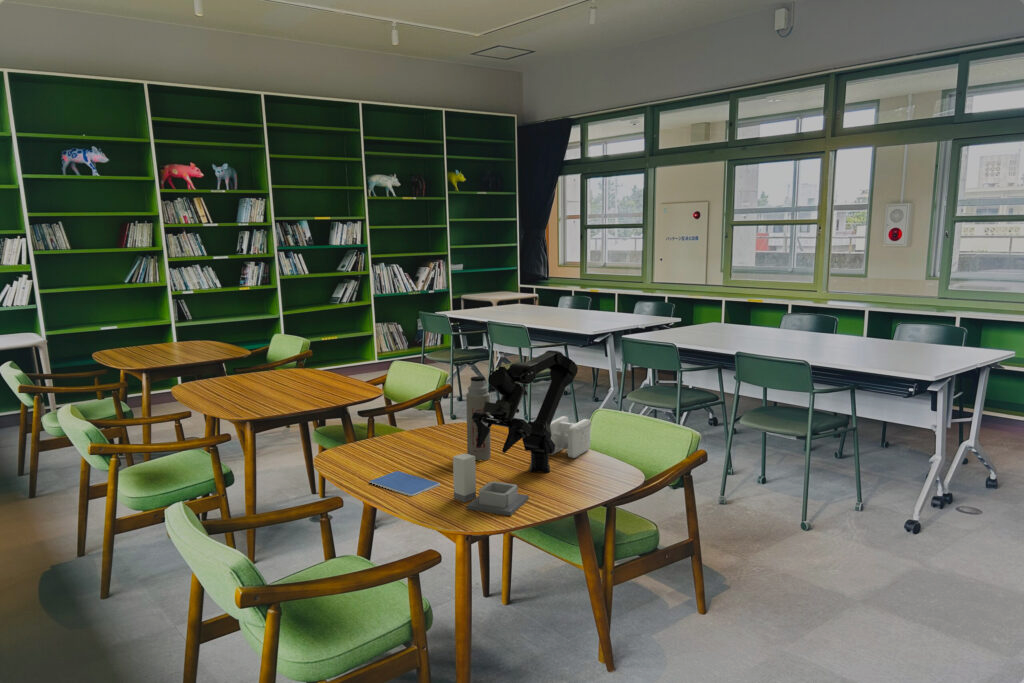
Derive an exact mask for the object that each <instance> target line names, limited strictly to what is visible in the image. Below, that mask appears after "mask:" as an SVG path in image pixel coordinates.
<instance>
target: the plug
mask: <svg viewBox="0 0 1024 683" xmlns="http://www.w3.org/2000/svg"><path fill="white" fill-rule="evenodd" d="M476 462H477V461H475V456H473V455H469V454H467V453H464V452H463V453H460V454H457V455H454V456H452V473H453V477H452V478H453V479H452V480H453V499H454V500H456V499H457V500H456V501H459V502H461V501H462V502H463V503H464V502H465V503H468V502H470V501H473V500H474V498H477V478H476V476H477V475H476V473H477V471H476V470H477V468H476ZM472 499H473V500H472ZM467 501H468V502H467Z"/></svg>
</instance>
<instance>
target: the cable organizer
mask: <svg viewBox="0 0 1024 683" xmlns="http://www.w3.org/2000/svg"><path fill="white" fill-rule="evenodd" d="M591 427H592V422H591V419H587V418H583V419H582V420H580V421H578V422H576V423H574V422H569V417H568V416H564V415H563V416H560V417H558V418H556V419H554V420H552V422H551V424H550V429H551V434H552V435H551V440H552V441H553V442H554V444H555V451H554V452H553V454H554V455H556V454H557V453H559V452H560V451H562V450H564V449H565V451H564V452H565V454H567V456H568V457H569V458H572V459H573V458H575V459H576V458H578V457H579V456H580V455H582V454H585V453H586V451H588V450H589V449H590V447H591V442H592V441H591V437H592V436H591V434H592V433H591V431H592V430H591ZM555 453H556V454H555ZM553 454H551V455H550V456H554V455H553Z"/></svg>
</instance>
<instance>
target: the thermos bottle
mask: <svg viewBox="0 0 1024 683" xmlns="http://www.w3.org/2000/svg"><path fill="white" fill-rule="evenodd" d="M467 390H468V391H467V393H465V394H466V396H465V398H466V400H465V401H466V444H467V445H466V446H467V448H466V450H467V451H466V452H467V453H466V454H469V455H473V456H475V460H477V461H476V462H479V461H478V460H484V461H488V460H490V459H491V458H490V457H492V456H491V455H492V454H491V452H492V451H491V450H492V449H491V447H492V446H491V444H492V443H491V441H492V440H491V431H490V432H489V433H488V435H487V437H486V439H485V440H484V442H483V444H482V445H481V447H480V448H479V447H477V438H478V429H477V425H476V424H475V423H474V421H473V420H472V419H471V417H472V415H473V413H474V412H476V411H478V412H483V410H484V405H485V402H491V394H490V392H489V387H488V386H487V385H486V377H484V376H480V375H479V376H471V377H470V386H468V388H467ZM483 413H485V412H483ZM486 414H487V415H488V416H489V417H491V415H490V413H489V412H486ZM489 429H490V430H491V427H489ZM489 458H490V459H489ZM487 459H488V460H487Z"/></svg>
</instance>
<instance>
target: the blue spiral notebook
mask: <svg viewBox="0 0 1024 683" xmlns="http://www.w3.org/2000/svg"><path fill="white" fill-rule="evenodd" d="M369 482H370V483H372V484H371V485H373V484H375V485H374V486H376V485H378V486H377V487H379V486H380V487H379V488H382V487H383V489H385V488H386V490H388V489H389V490H388V491H391V490H392V492H395V493H398V494H401V495H404V496H406V495H408V496H407V497H409V496H414V497H416V496H418V494H419V495H421V494H423V493H422V492H424V493H425V491H426V492H428V491H431V490H434V489H436V488H438V487H440V486H441V483H440V482H438V481H435V480H432V479H426V478H423V477H420V476H416V475H414V474H409V473H407V472H404V471H399V470H395V471H393V472H391V473H388V474H385V475H383V476H380V477H377V478H373V479H371V480H369V481H368V483H369ZM420 493H421V494H420ZM415 495H416V496H415Z"/></svg>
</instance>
